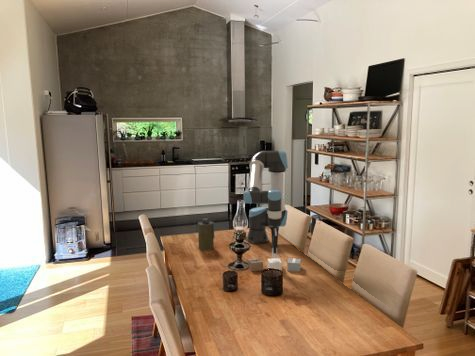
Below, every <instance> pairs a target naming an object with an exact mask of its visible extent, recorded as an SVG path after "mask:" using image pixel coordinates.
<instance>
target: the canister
mask: <svg viewBox="0 0 475 356" xmlns="http://www.w3.org/2000/svg"><path fill="white" fill-rule="evenodd" d="M197 227H198V228H197V229H198V230H197V234H198V249H199V250H200V251H211V250H214V248H215V245H214V243H215V241H214V239H215V222H214V221H212V220H209V218H201V221H198V222H197Z"/></svg>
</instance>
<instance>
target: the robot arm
mask: <svg viewBox="0 0 475 356" xmlns="http://www.w3.org/2000/svg"><path fill="white" fill-rule="evenodd" d="M288 168H289V165H288V158H287V152H286V151H285V150H262V151H259V152H257V153H255V154H254V155H253V156H252V158H251V159H250V161H249V170H250V171H249V178H248V187H247V190H244V192H243V202H244V204H251V205H252V204H259V205H260V204H261V205H264V204H265V205H266V204H267V209H266V207H264V206H257V207H252V208H251V209H249V212H248V213H249V215H248V221H249V222H248V224H249V225H248V226H249V227H248V233H247V236H246V241H247V242H248V243H250V244H259V245H260V244H264V243H268V242H269V236H268V233H267V228H266V227H270V230H271V231H270V232H271V233H270V234H271V259H274V258H278V248H279V245H278V244H279V242H278V240H279V231H280V230H279V228H281V227H285V226H286V225H287V220H288V213H289V212H288V210H287V209H286V207H285V206H284V173H286V171H287V169H288ZM264 169H268V172H269V173H270V190H261V188H262V177H263V170H264Z"/></svg>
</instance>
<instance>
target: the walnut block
mask: <svg viewBox="0 0 475 356" xmlns="http://www.w3.org/2000/svg"><path fill="white" fill-rule="evenodd" d="M247 268H248V269H249V270H250V272H257V271H263V270H264V262H263V260H262V259H261V258H260V257H253V258H251V257H250V258H247Z"/></svg>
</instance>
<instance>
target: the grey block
mask: <svg viewBox="0 0 475 356" xmlns="http://www.w3.org/2000/svg"><path fill="white" fill-rule="evenodd" d="M301 262H302V261H301V258H295V257H293V258H290V257H289V258H287V262H286V263H287V266H286V269H287V270H286V271H287V272H299V273H300V272H301V264H302V263H301Z"/></svg>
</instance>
